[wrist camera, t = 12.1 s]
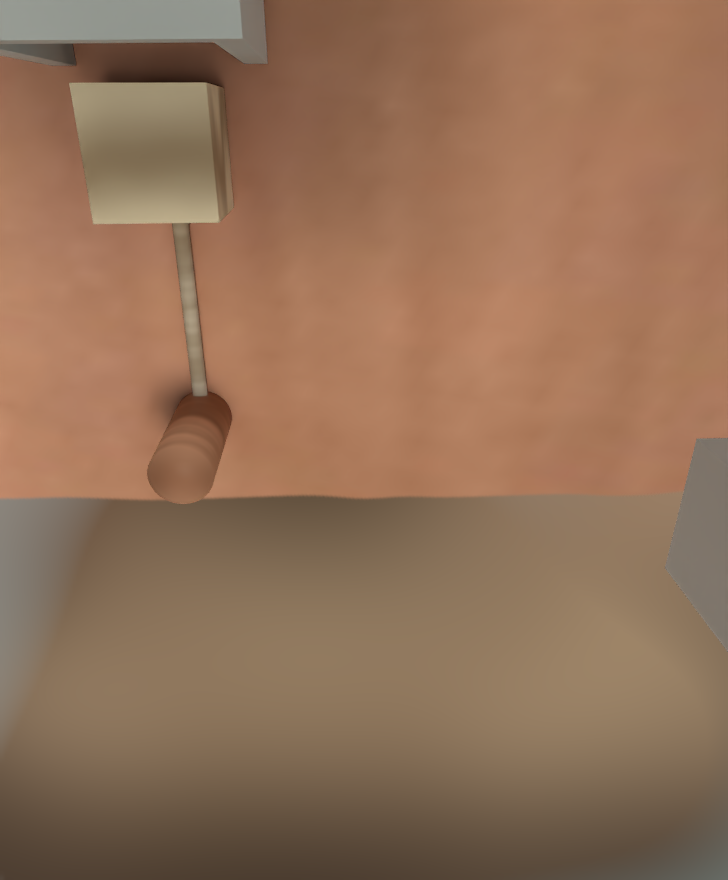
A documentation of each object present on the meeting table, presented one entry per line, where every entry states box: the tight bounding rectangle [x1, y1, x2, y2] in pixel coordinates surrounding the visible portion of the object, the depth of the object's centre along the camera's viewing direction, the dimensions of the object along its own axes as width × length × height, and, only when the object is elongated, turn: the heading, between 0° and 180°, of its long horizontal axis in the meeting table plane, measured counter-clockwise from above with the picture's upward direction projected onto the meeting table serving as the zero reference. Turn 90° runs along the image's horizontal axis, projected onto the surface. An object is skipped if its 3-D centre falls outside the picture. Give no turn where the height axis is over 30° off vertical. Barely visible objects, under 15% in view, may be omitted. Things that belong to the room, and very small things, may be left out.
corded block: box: [69, 82, 234, 504], centre depth 36 cm, size 20×6×8 cm, turn 0°
